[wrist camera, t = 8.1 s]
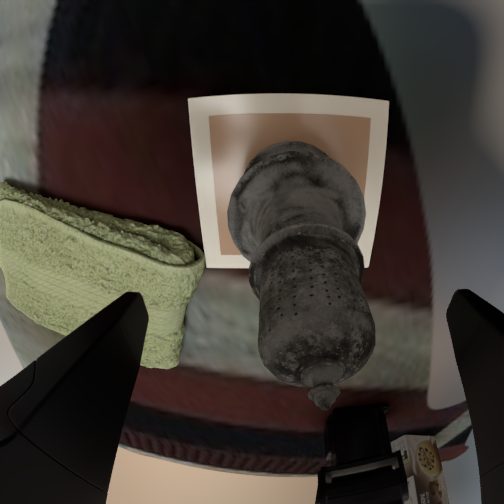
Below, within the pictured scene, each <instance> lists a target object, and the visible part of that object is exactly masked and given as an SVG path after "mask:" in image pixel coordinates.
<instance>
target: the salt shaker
mask: <svg viewBox="0 0 504 504" xmlns="http://www.w3.org/2000/svg"><path fill="white" fill-rule="evenodd" d="M227 217H228V229H229V232H230V234H231V237H232V240H233V242H234V244H235V246H236V247H237V248H238V250H239V251H240V253H241V254H242V255H243V257H245V258H246V259H247V260H248V261H250V266H249V282H250V285H251V287H252V290H253V293H254V294H255V295H256V296H257V298H258V299H259V300H260V312H259V333H258V349H259V353H260V357H261V359H262V361H263V364H264V366H265V367H266V368H267V369H268V370H269V371H270V372H271V373H272V374H273V375H274V376H276V377H277V378H278V379H279V380H281V381H283V382H285V383H288V384H291V385H295V386H299V387H307V388H312V389H311V390H310V392H309V393H308V398H309V399H310V400H312V401H314V402H315V405H317V406H319V407H321V409H322V410H324V411H327V410H329V409H330V406H331V405H332V404H333V403H334V402H335V398H337V396H338V395H339V394H340V388H338V387H337V386H335V385H334V384H337V383H340V382H342V381H344V380H345V379H347V378H349V377H351V376H353V375H354V374H356V373H357V372H358V371H359V370H361V369H362V368H363V366H364V365H365V364H366V363H367V361H368V359H369V358H370V356H371V354H372V352H373V349H374V347H375V324H374V321H373V318H372V315H371V312H370V309H369V306H368V303H367V300H366V298H365V295H364V292H363V289H362V287H361V282H362V279H363V274H364V269H365V268H364V258H363V255H362V253H361V250H360V248H359V246H358V244H357V243H358V241H359V239H360V237H361V234H362V232H363V230H364V224H365V217H366V209H365V201H364V196H363V194H362V192H361V189H360V187H359V185H358V183H357V181H356V180H355V179H354V177H353V176H352V175H351V174H350V173H349V172H348V170H347V169H346V168H345V167H344V166H342V165H341V164H339V163H337V162H336V161H334V160H333V159H331V158H330V157H329V156H328V155H327V154H326V153H325V152H323V151H322V150H320V149H318V148H317V147H315V146H313V145H310V144H307V143H303V142H297V141H285V142H281V143H277V144H273V145H271V146H269V147H267V148H266V149H264V150H262V151H260V152H259V153H258V154H257V155H256V156H255V157H254V158H253V159H252V160H251V161H250V163H249V165H248V167H247V168H246V170H245V172H244V175H243V176H242V177H241V178H240V179H239V181H238V183H237V185H236V187H235V188H234V190H233V192H232V194H231V197H230V202H229V206H228V211H227Z"/></svg>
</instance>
